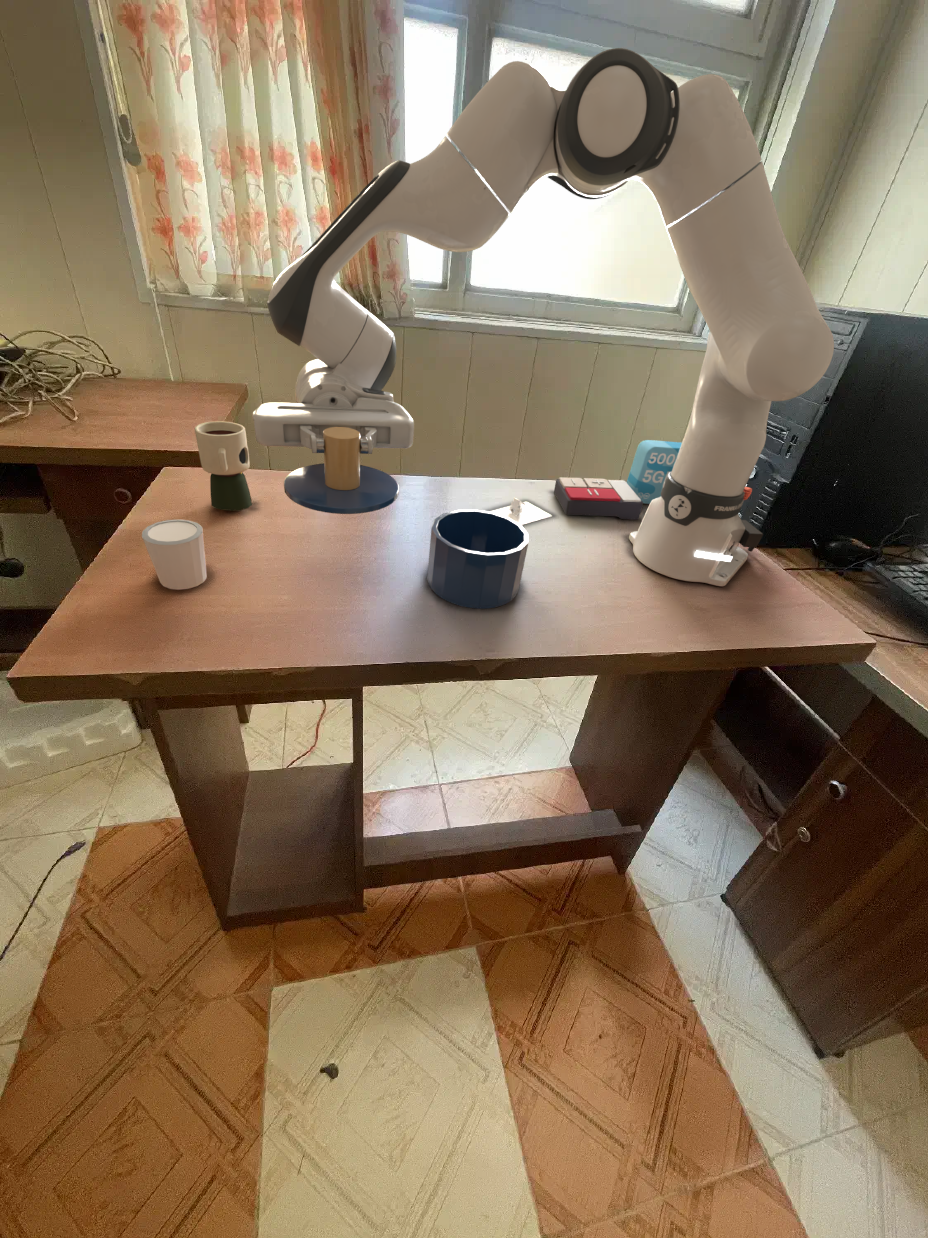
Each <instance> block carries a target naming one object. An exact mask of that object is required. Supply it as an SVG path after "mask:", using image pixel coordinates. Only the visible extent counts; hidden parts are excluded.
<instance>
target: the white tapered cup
mask: <svg viewBox="0 0 928 1238" xmlns="http://www.w3.org/2000/svg"><path fill="white" fill-rule="evenodd" d="M141 538H142V541H143V543H144V546H145V549H146V550H147V553H148V556H149V558H150V560H151V563H152V565H153V568H154V571H155V573H156V575H157V579H158V581H159V584H161V586H163V587H164V588H167V589H169V590H178V591H179V590H180V591H181V590H190V589H192V588H195V587H196V588H197V587H198V586H199V585H201V584H203V583H204V582H205V581H206V580H207V578H208V577H207V574H208V573H207V562H206V552H205V551H206V550H205V542H204V529H203V526H202V525H200V523H198V522H195V521H192V520H188V519H165V520H161V521H157V522H155V523H152V524H150V525H148V526H146V527H145V528H144V529H143V530H142V532H141Z"/></svg>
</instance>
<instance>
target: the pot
mask: <svg viewBox="0 0 928 1238" xmlns="http://www.w3.org/2000/svg"><path fill="white" fill-rule="evenodd" d="M529 535H530V534H529V532H528V531H527V530H526V528H524V525H520V524H519V523H517V522H515V521H514V520H512V519H510V518H509V517H506V516H503V515H500V514H497V513H494V512H490V511H489V510H480V509H456V510H452V511H448V512H447V511H446V512H444V513H442V514H440V515H439V516H437V517H436V518H434V519H433V523H432V525H431V530H430V540H429V541H430V542H429V551H428V552H429V553H428V565H427V574H426V575H427V576H426V577H427V583H428V585H429V587H430V589H431V590H432V592H433V593H434V594H436V595H437V596H438V597H439V598H441V599H443V600H444V601H446V602H447V603H450V604H453V605H456V606H459V607H463V608H468V609H469V608H470V609H481V610H483V609H484V610H485V609H492V608H497V607H498V608H499V607H500V606H501V607H502V606H504V605H506V604H508V603H510V602H511V601H512V600H514V598H515V597H516V596H517V594H518V592H519V590H520V589H519V588H520V585H521V580H522V575H523V571H524V565H525V561H526V556H527V551H528V548H529V542H530V541H529V540H530V539H529V537H530V536H529Z"/></svg>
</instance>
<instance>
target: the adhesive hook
mask: <svg viewBox="0 0 928 1238" xmlns="http://www.w3.org/2000/svg"><path fill="white" fill-rule="evenodd" d="M524 502H525V501H521V500H520V499H518V498H516V497H513V500H512V501H511V503H510V505H508V506H507V507H508V511H509V512H511V513H512V514H513V515H514V516H518V515H519V514H522V513H523V506H525V505H526V504H525V503H524Z"/></svg>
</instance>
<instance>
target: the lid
mask: <svg viewBox="0 0 928 1238" xmlns="http://www.w3.org/2000/svg"><path fill="white" fill-rule="evenodd" d="M323 438H324V444H325V445H324V448H325V453H323V462H321V463H315V464H309V465H306V466H302V467H299V468H297V469H295V470H293V471H292V472H289V473H288V475H286V477H285V478H284V481H283V490H284V493H285V495H286V496H287V497H288V499H290V501H292V502H293V503H295V504H297V505H299V506H301V507H303V508H306V509H309V510H313V511H317V512H322V513H327V514H335V515H336V514H337V515H340V514H341V515H353V514H354V515H356V514H358V515H359V514H365V513H372V512H376V511H380V510H382V509H385V508H387V507H389V506H390V505H392V504H394V503H395V502H396V501H397V500H398V497H399V494H400V486H399V483H398V482H397V480H396V479H395V478H394V477H393V476H392V475H390V474H388V473H387V472H385V471H383V470H380V469H377V468H376V467H371V466H367V465H364V464H363V465H362V464H361V454H360V433H359V432H358V431H357V430H355V429H351V428H346V427H331V428H327V429H325V430H324V431H323Z"/></svg>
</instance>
